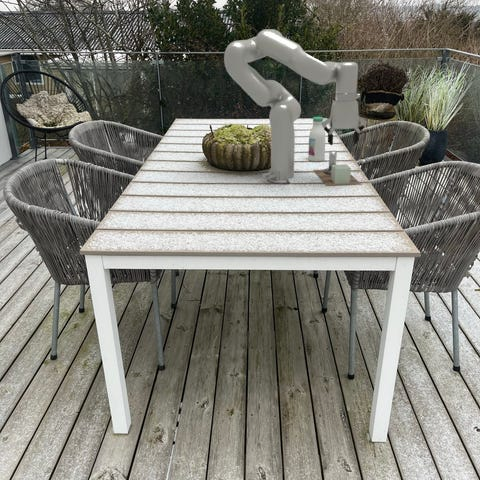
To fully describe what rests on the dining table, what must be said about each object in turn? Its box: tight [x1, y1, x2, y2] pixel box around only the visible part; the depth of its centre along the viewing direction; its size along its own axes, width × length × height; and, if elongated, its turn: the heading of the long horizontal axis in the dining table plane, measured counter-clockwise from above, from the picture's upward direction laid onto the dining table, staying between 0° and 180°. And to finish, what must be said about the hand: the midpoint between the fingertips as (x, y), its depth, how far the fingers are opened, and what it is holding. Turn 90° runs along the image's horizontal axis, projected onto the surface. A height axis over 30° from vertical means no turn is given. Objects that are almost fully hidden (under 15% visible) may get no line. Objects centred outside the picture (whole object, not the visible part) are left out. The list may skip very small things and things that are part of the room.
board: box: [312, 150, 362, 187], centre depth 191 cm, size 24×14×10 cm, turn 4°
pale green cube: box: [331, 163, 352, 184], centre depth 185 cm, size 6×6×6 cm
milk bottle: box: [308, 116, 326, 162], centre depth 221 cm, size 8×8×20 cm
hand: (342, 143), depth 181 cm, fingers open, 9 cm apart
